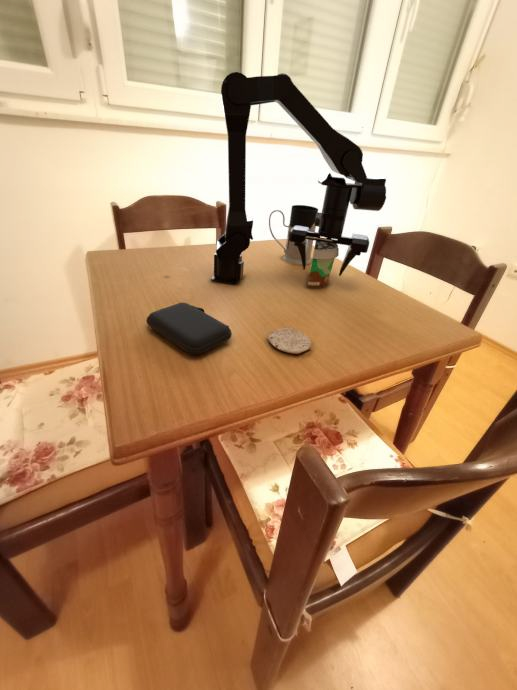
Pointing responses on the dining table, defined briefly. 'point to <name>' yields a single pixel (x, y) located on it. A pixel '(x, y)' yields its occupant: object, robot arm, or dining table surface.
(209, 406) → the dining table surface
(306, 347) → the flatbread
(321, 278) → the food container
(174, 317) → the carrying case
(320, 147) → the robot arm
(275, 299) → the dining table surface
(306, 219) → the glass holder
